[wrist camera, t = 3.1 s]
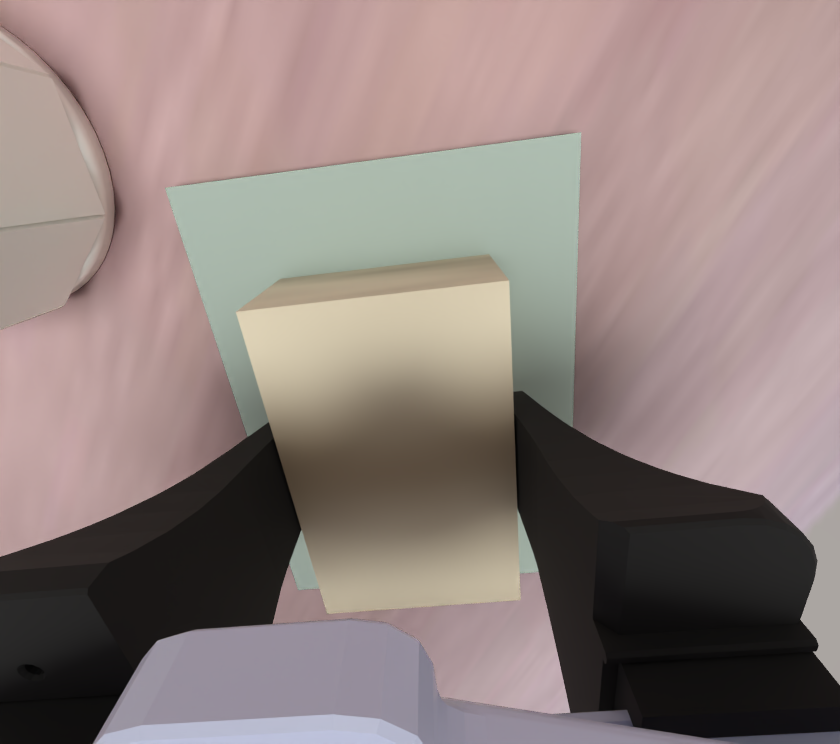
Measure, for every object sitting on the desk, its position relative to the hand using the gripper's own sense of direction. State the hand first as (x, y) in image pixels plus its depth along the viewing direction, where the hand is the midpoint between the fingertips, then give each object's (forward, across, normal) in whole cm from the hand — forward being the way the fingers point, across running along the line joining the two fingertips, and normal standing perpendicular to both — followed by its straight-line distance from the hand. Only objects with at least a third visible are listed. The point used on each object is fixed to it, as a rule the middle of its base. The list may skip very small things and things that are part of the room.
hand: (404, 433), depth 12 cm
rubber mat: (+2, 0, 0) cm, 2 cm away
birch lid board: (+1, 0, 0) cm, 1 cm away
